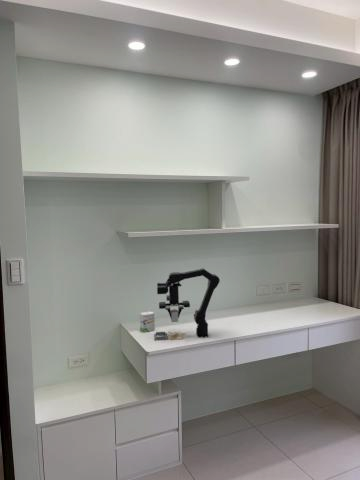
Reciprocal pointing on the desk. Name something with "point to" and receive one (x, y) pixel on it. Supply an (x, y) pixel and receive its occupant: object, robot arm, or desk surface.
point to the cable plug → (174, 315)
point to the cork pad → (175, 336)
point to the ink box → (147, 321)
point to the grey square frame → (157, 337)
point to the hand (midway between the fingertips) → (174, 318)
